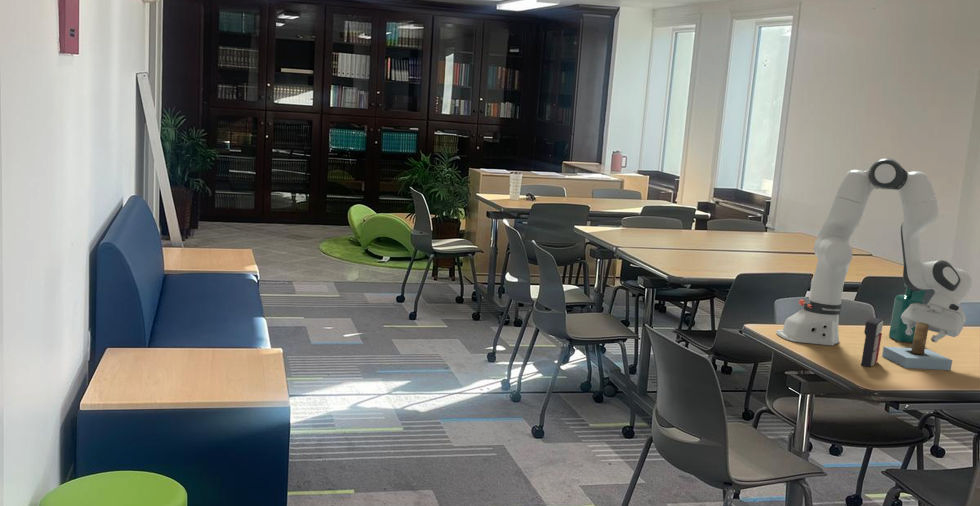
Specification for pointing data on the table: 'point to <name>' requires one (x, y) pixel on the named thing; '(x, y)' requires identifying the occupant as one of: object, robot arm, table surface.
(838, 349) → the table surface
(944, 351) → the table surface
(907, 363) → the seat board
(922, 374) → the table surface
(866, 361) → the calculator
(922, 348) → the peg
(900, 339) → the teal bottle
